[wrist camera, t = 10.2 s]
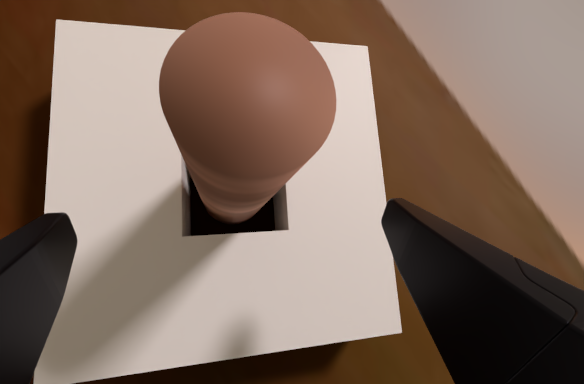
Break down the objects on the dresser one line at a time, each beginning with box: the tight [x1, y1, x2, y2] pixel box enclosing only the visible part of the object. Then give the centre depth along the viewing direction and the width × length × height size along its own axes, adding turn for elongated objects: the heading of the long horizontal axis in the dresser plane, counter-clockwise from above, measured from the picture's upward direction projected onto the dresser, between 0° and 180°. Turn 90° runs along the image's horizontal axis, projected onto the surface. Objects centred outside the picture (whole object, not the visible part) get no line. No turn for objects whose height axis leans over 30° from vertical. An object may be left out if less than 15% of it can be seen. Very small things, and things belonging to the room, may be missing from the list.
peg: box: [159, 12, 336, 225], centre depth 12 cm, size 4×4×13 cm
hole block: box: [34, 20, 402, 384], centre depth 17 cm, size 16×16×4 cm
